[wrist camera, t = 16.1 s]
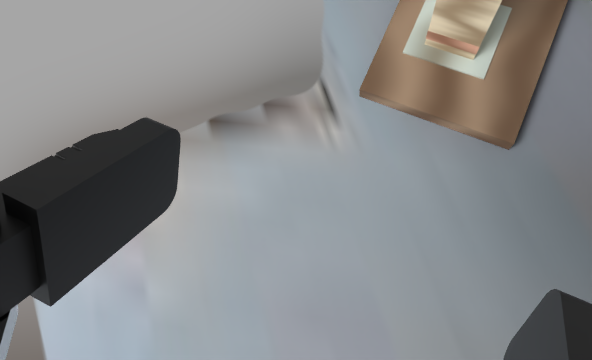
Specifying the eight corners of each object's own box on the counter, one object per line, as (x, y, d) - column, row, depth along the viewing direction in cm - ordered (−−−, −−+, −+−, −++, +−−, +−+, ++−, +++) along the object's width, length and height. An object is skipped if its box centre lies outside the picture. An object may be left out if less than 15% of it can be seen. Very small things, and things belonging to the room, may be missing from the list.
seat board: (580, -44, 44) (589, -57, 42) (508, 149, 40) (514, 143, 38) (439, -81, 47) (442, -94, 45) (359, 96, 43) (359, 88, 41)
